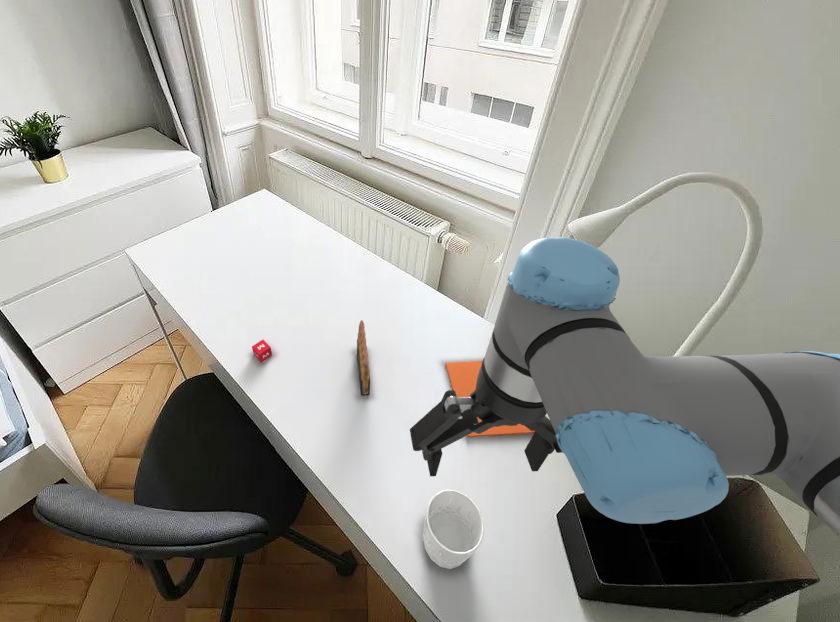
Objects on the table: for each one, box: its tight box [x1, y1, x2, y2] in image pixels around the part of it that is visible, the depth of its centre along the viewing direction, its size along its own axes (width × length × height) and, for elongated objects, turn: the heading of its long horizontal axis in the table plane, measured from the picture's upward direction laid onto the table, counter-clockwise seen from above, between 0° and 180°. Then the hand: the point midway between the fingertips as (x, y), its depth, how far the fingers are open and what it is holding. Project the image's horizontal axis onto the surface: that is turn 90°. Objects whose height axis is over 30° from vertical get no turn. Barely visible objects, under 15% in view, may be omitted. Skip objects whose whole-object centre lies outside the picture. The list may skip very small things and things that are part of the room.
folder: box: [444, 360, 535, 438], centre depth 82 cm, size 16×14×1 cm
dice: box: [251, 339, 273, 364], centre depth 90 cm, size 3×3×3 cm
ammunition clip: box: [356, 319, 371, 397], centre depth 83 cm, size 11×2×12 cm, turn 2°
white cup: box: [422, 489, 485, 570], centre depth 60 cm, size 8×8×10 cm
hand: (480, 463), depth 55 cm, fingers open, 13 cm apart
